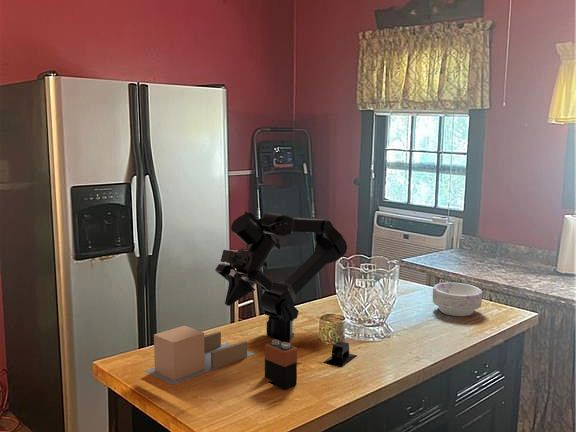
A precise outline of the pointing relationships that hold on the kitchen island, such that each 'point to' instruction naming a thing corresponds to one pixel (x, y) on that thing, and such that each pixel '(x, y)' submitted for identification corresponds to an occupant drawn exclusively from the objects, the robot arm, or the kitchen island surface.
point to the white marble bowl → (457, 298)
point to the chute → (213, 356)
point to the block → (179, 352)
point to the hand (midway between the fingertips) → (226, 305)
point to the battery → (281, 364)
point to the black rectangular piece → (340, 355)
